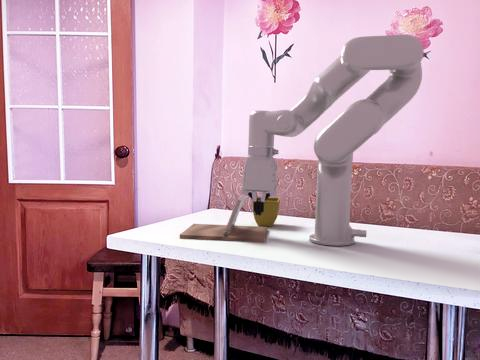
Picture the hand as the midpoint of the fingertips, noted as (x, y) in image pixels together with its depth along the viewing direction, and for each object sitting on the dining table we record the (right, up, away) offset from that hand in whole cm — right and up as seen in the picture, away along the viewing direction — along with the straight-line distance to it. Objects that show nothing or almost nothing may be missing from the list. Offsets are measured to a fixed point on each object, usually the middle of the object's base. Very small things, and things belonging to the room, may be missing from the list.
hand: (258, 214), depth 131 cm
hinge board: (-10, -6, +2) cm, 12 cm away
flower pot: (+3, -5, +18) cm, 19 cm away
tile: (-6, 0, +1) cm, 6 cm away
